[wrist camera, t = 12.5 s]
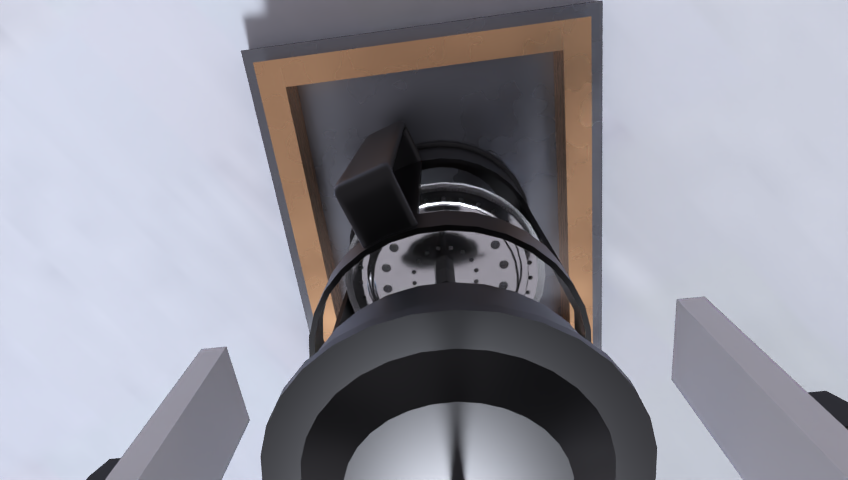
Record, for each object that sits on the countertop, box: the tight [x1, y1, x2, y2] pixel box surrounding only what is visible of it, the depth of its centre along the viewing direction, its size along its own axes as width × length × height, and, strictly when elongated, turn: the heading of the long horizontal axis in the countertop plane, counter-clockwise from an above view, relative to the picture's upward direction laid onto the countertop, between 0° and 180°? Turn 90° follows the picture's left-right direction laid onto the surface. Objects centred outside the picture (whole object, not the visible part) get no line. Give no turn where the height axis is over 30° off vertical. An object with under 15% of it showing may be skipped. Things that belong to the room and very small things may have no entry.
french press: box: [261, 121, 657, 480], centre depth 16 cm, size 12×9×23 cm
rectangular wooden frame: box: [241, 1, 603, 350], centre depth 27 cm, size 17×19×3 cm
